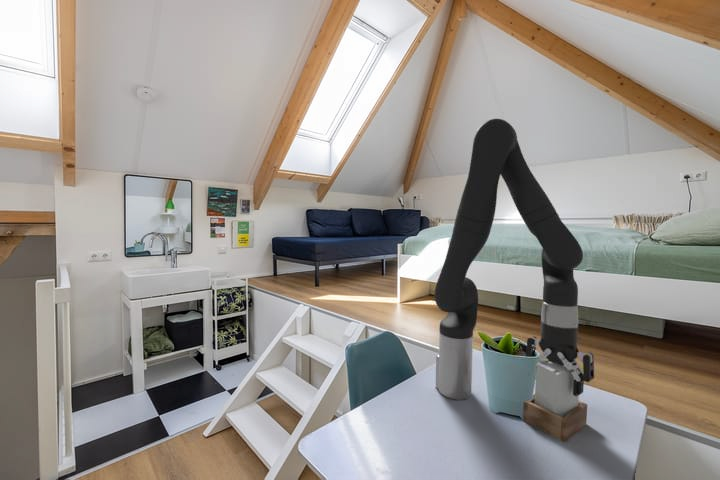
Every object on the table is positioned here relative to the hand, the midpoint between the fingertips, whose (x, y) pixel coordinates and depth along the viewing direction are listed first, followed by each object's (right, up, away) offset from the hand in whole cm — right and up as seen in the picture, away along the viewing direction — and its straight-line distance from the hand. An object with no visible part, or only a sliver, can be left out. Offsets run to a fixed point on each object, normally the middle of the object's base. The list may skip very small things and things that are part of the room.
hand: (556, 387), depth 76 cm
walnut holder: (0, -9, +1) cm, 9 cm away
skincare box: (0, -9, +1) cm, 9 cm away
